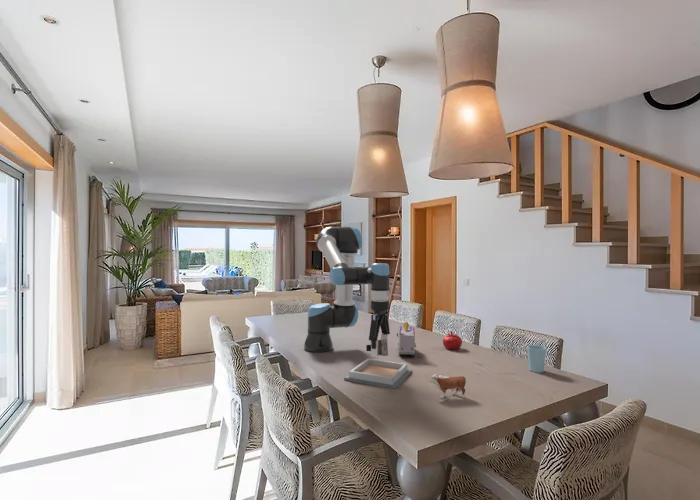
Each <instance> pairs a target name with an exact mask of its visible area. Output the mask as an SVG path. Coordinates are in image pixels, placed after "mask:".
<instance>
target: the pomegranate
mask: <svg viewBox="0 0 700 500" xmlns="http://www.w3.org/2000/svg"><path fill="white" fill-rule="evenodd" d="M442 343H443V347H444V348H445V349H446V350H459V349H461V347H462V345H463V339H462V338H461V337H460V336H459V334H457V333H453V331H452V330H451V331H450V333H447V334H445V336H444V337H443V339H442Z"/></svg>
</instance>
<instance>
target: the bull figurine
mask: <svg viewBox="0 0 700 500" xmlns="http://www.w3.org/2000/svg"><path fill="white" fill-rule="evenodd" d="M428 380H429V383H433V384H434V385H436V388H437V389H438V390H439V391H441V392H442V394H441V396H440V399H441V400H444V398H445V396H446V392H447V390H451V392H454V393H453V394H452V396H456V395H458V392H461V396H460V398H462V399H464V398H465V394H466V393H465V392H466V388H465V387H466V377H465V376H462V375H460V376H444V375H440V374H439V375H438V374H437V373H433V375H431V376H430V378H429V379H428ZM454 390H455V391H454Z"/></svg>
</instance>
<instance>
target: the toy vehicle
mask: <svg viewBox="0 0 700 500" xmlns="http://www.w3.org/2000/svg"><path fill="white" fill-rule="evenodd" d="M396 337H397V338H398V340H397V345H398V346H397V348H398V355H399V356H403V355H410V356H411V357H414V356H415V355H416V352H415V350H416V349H415V348H417V344H416V339H415V338H416V336H415V327H414V325H412V326H410V324H409V323H408V322H407V321H405V322H403V323H402V325H399V329H398V332H397V333H396Z"/></svg>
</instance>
